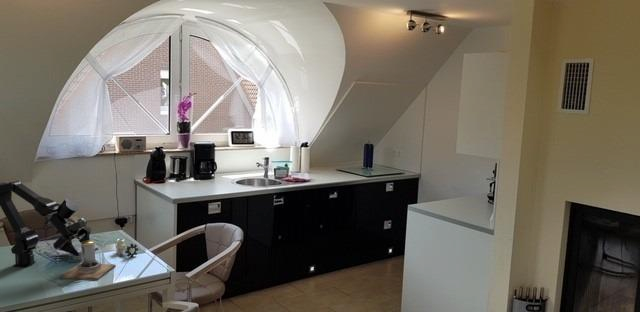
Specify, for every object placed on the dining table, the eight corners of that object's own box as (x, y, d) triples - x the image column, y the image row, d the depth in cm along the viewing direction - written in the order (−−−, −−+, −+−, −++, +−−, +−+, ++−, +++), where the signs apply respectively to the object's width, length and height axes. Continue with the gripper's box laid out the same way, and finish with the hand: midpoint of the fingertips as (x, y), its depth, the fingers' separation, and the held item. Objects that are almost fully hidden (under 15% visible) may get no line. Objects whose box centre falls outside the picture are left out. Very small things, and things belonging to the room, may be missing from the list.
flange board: (61, 277, 213) (60, 269, 212) (81, 264, 228) (81, 257, 228) (97, 280, 212) (97, 272, 211) (115, 266, 227) (115, 259, 227)
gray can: (82, 272, 216) (81, 244, 215) (82, 268, 221) (81, 241, 219) (95, 271, 219) (94, 243, 217) (95, 266, 223) (94, 239, 221)
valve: (112, 253, 245) (126, 259, 238) (111, 240, 244) (126, 245, 237) (124, 250, 250) (138, 255, 243) (124, 237, 249) (138, 242, 242)
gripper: (58, 219, 209) (83, 247, 208) (87, 208, 227) (109, 234, 226) (42, 235, 211) (66, 263, 211) (72, 224, 229) (94, 250, 229)
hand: (85, 252), depth 219 cm, fingers open, 9 cm apart
